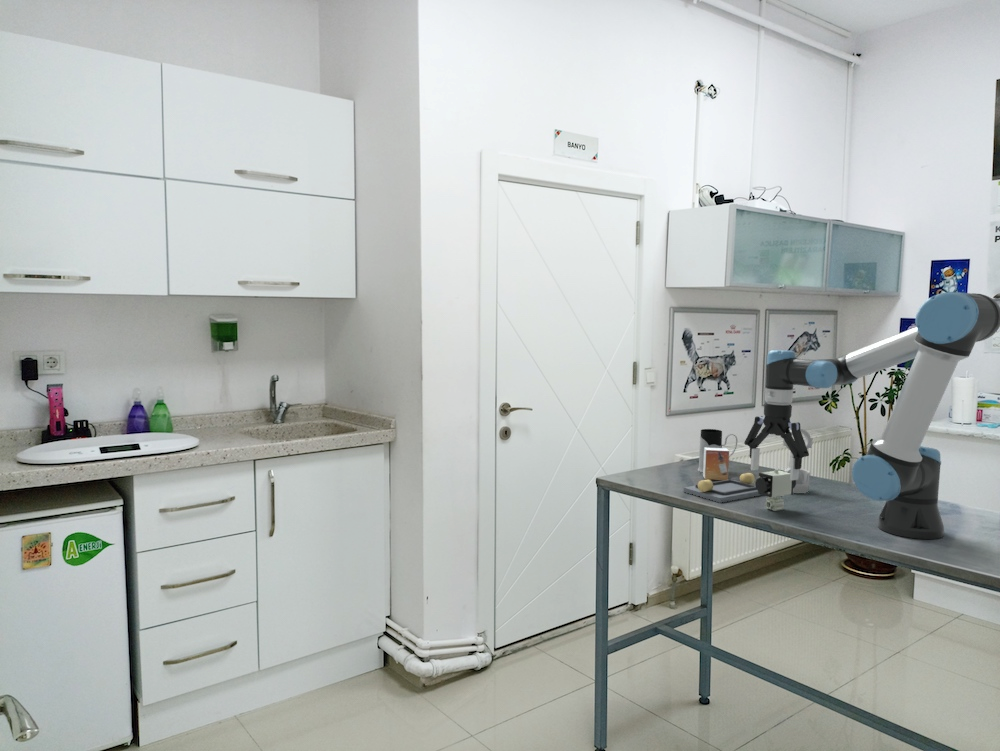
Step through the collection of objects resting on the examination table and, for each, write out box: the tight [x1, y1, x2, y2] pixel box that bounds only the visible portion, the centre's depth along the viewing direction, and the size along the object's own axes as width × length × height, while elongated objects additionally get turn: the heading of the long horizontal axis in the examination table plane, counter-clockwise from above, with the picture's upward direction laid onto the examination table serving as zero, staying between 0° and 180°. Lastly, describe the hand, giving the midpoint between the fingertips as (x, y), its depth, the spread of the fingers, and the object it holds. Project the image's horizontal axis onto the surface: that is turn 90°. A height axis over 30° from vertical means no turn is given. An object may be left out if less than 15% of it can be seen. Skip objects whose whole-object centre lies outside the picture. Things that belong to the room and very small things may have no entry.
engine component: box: [777, 427, 813, 494], centre depth 229 cm, size 11×20×10 cm
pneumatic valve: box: [754, 468, 796, 512], centre depth 206 cm, size 6×12×12 cm, turn 115°
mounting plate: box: [683, 472, 762, 504], centre depth 224 cm, size 23×15×5 cm, turn 121°
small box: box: [702, 447, 730, 481], centre depth 245 cm, size 8×6×10 cm
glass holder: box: [697, 428, 738, 473], centre depth 256 cm, size 9×14×15 cm, turn 93°
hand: (773, 474), depth 206 cm, fingers open, 13 cm apart
